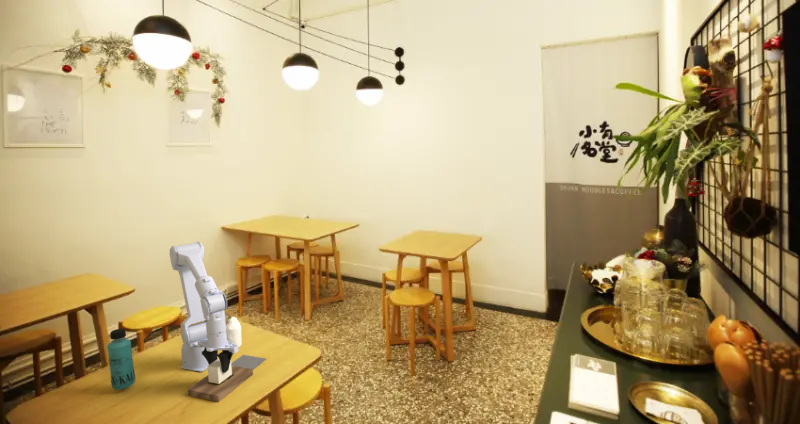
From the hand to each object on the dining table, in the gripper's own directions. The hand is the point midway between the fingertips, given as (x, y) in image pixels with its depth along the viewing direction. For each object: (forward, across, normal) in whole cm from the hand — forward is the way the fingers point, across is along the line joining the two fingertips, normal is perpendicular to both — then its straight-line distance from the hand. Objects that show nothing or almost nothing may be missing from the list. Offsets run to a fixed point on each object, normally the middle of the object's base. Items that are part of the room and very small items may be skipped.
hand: (219, 370), depth 134 cm
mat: (+5, -1, +14) cm, 15 cm away
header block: (+5, 0, 0) cm, 5 cm away
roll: (+5, -15, +24) cm, 29 cm away
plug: (+3, 0, 0) cm, 3 cm away
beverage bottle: (+5, -29, -11) cm, 31 cm away
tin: (+6, -26, +28) cm, 39 cm away
